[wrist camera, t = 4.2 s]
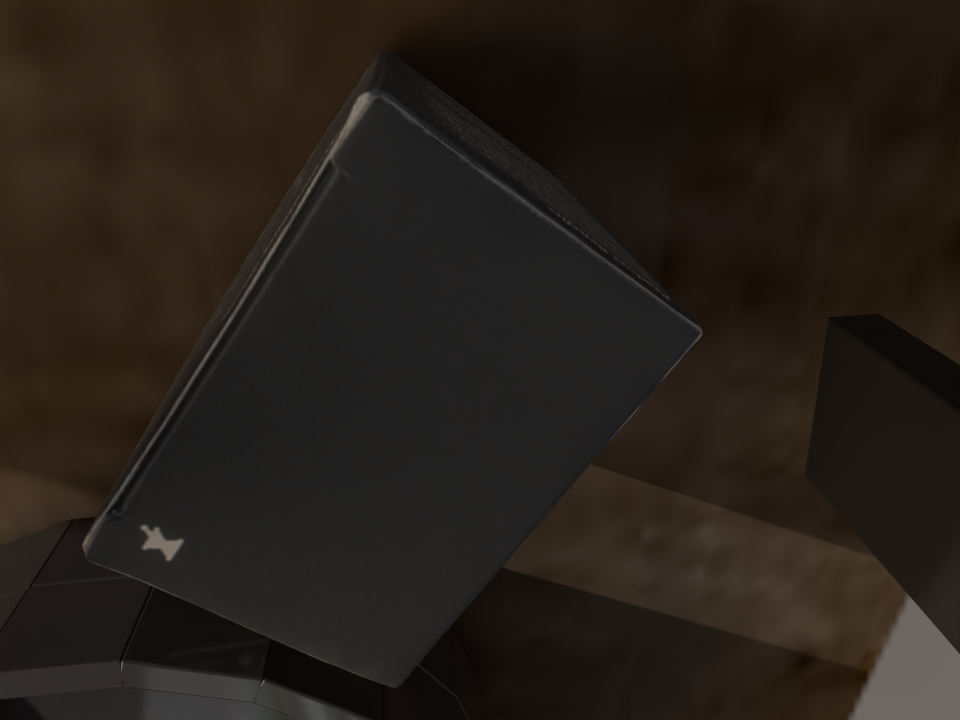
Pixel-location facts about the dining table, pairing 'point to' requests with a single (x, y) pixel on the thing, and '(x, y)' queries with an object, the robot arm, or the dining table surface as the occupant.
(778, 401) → the dining table surface
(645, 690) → the dining table surface
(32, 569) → the bowl
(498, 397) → the box
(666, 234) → the dining table surface
